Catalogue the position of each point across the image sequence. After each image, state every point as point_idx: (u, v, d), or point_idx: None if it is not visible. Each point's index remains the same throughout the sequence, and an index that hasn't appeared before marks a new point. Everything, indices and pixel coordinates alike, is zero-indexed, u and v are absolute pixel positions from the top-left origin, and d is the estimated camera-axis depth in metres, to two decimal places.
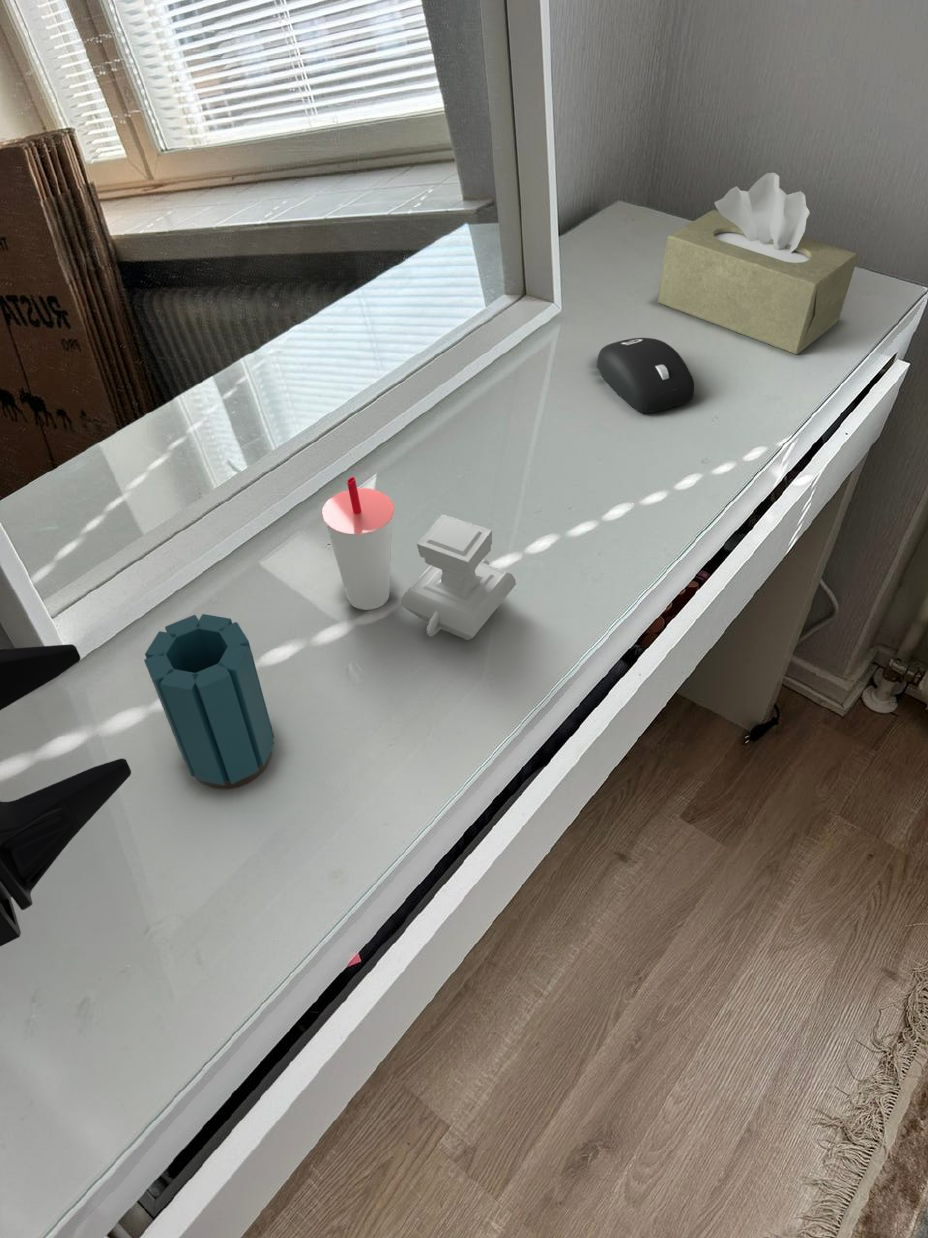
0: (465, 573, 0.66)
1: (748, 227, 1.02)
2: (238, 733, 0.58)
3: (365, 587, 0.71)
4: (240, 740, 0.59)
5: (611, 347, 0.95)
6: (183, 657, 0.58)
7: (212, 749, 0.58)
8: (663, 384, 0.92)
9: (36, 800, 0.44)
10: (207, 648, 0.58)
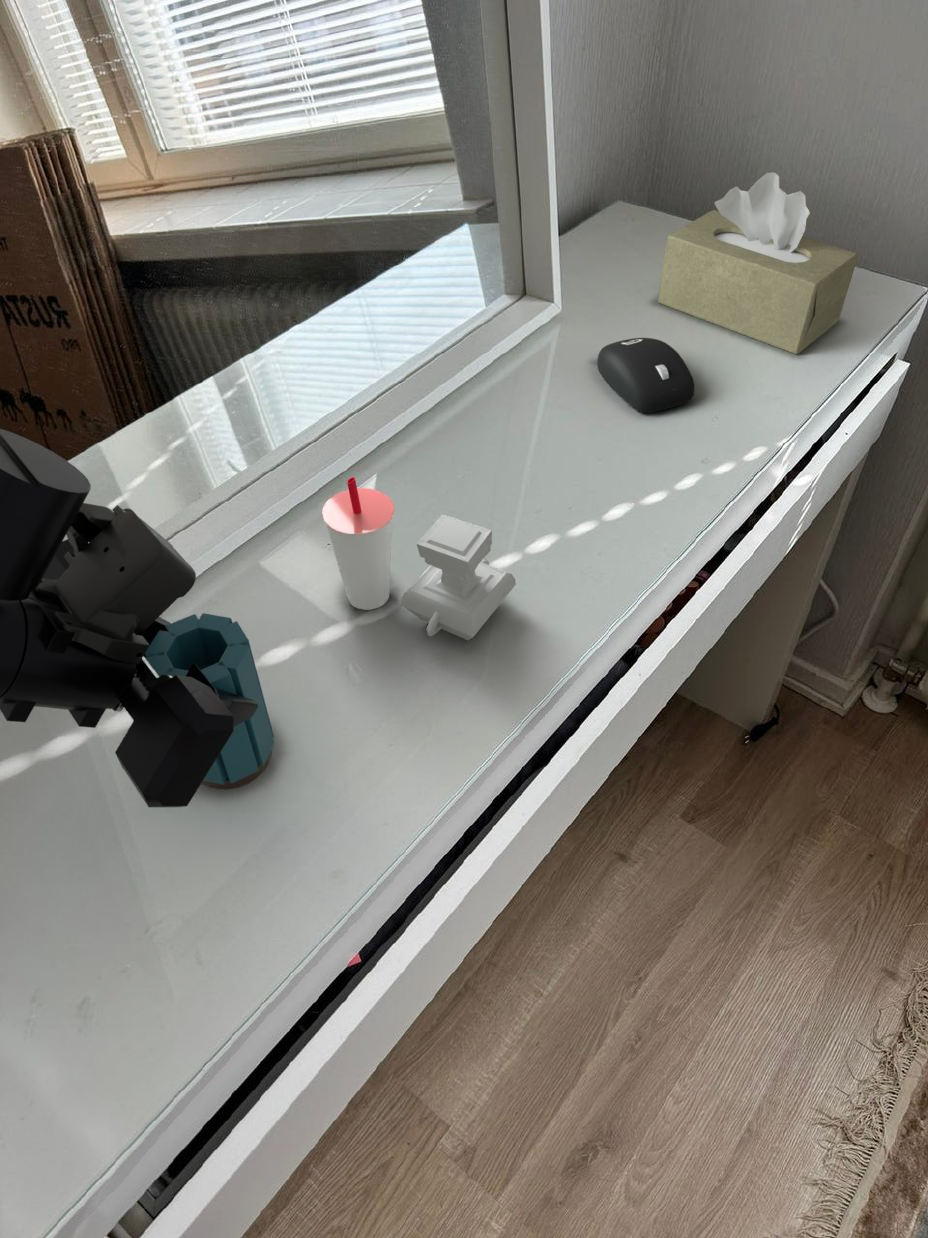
0: (465, 573, 0.66)
1: (748, 227, 1.02)
2: (238, 732, 0.58)
3: (365, 587, 0.71)
4: (240, 739, 0.59)
5: (611, 347, 0.95)
6: (183, 656, 0.58)
7: None
8: (663, 384, 0.92)
9: (217, 693, 0.53)
10: (207, 647, 0.59)
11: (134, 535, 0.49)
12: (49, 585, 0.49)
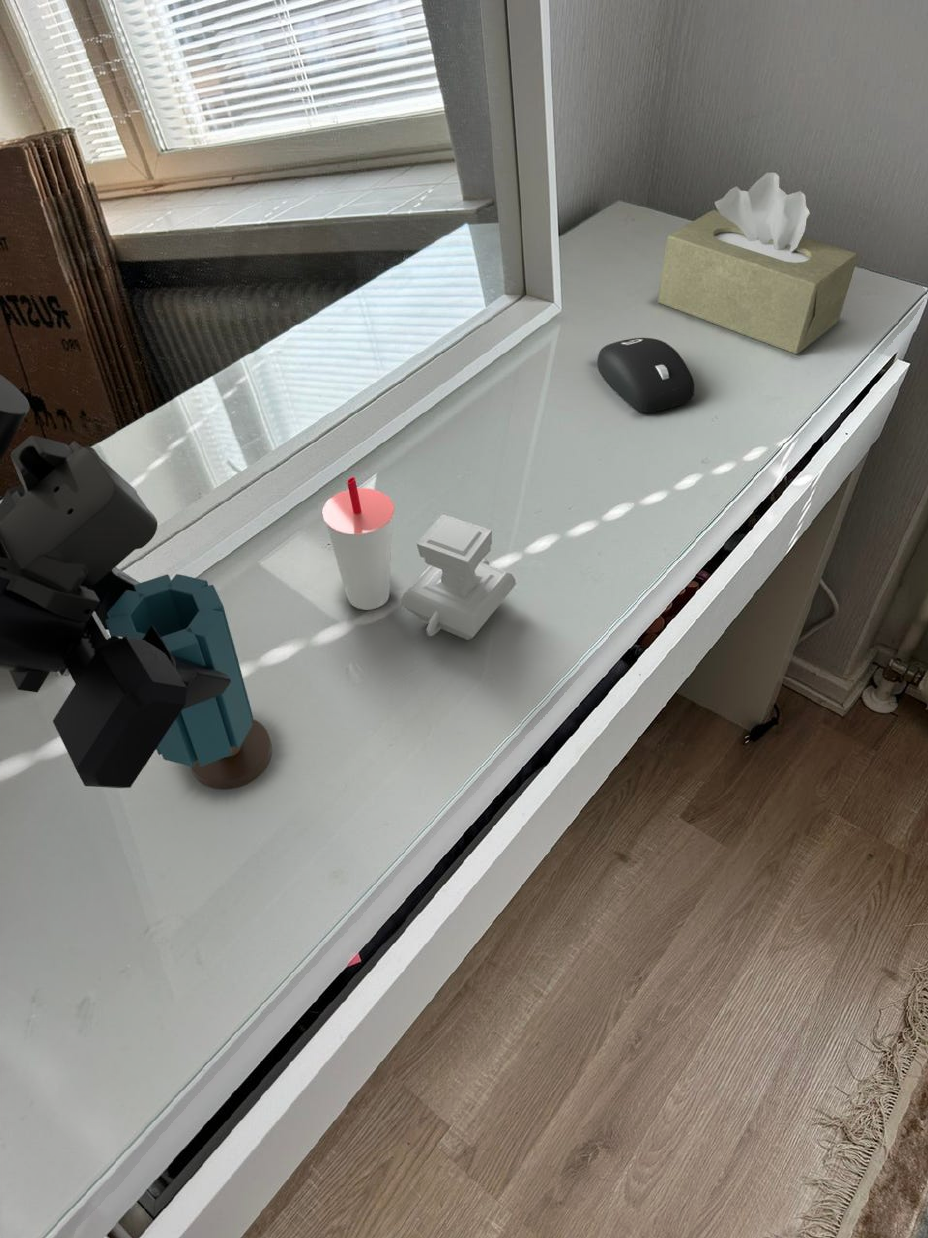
0: (465, 573, 0.66)
1: (748, 227, 1.02)
2: (208, 709, 0.52)
3: (365, 587, 0.71)
4: (210, 717, 0.52)
5: (611, 347, 0.95)
6: (153, 620, 0.52)
7: (178, 725, 0.52)
8: (663, 384, 0.92)
9: (180, 662, 0.47)
10: (180, 612, 0.52)
11: (88, 474, 0.42)
12: None
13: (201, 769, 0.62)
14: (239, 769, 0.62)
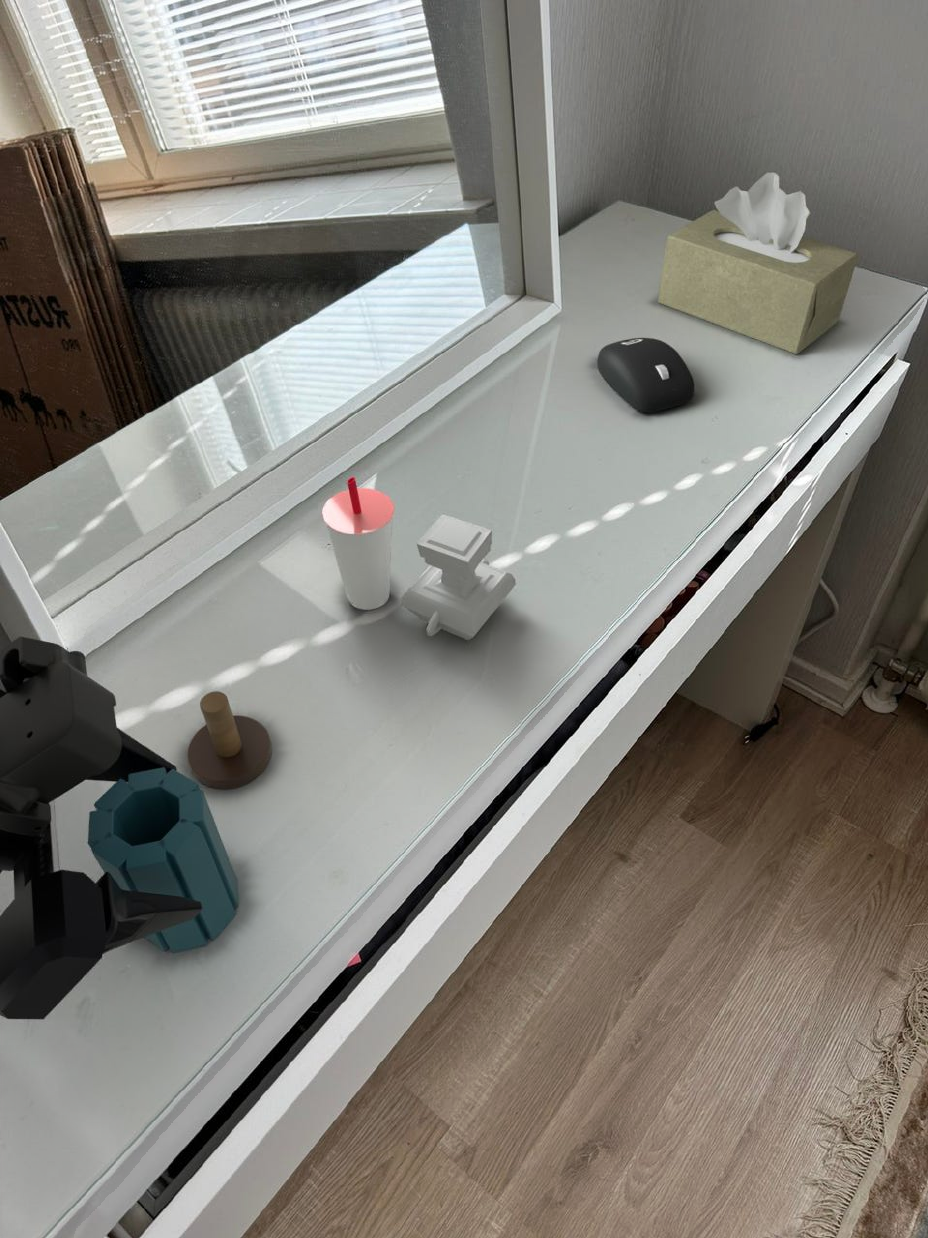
0: (465, 573, 0.66)
1: (748, 227, 1.02)
2: None
3: (365, 587, 0.71)
4: None
5: (611, 347, 0.95)
6: (143, 810, 0.52)
7: None
8: (663, 384, 0.92)
9: (139, 901, 0.45)
10: (170, 806, 0.52)
11: (57, 695, 0.41)
12: None
13: (201, 769, 0.62)
14: (239, 769, 0.62)
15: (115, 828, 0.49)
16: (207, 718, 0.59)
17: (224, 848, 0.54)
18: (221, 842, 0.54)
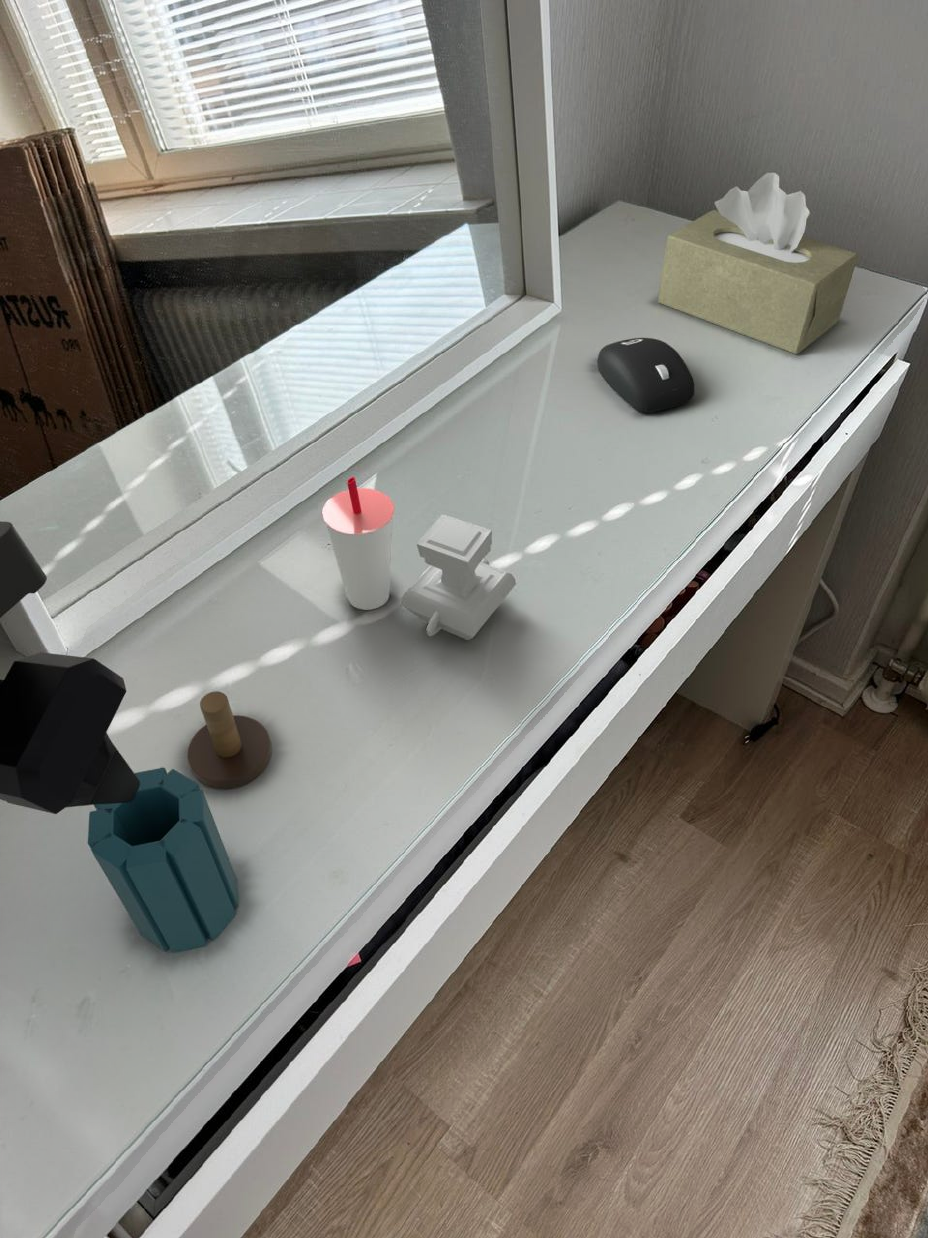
0: (465, 573, 0.66)
1: (748, 227, 1.02)
2: (178, 911, 0.51)
3: (365, 587, 0.71)
4: (181, 917, 0.51)
5: (611, 347, 0.95)
6: (143, 810, 0.52)
7: (148, 920, 0.51)
8: (663, 384, 0.92)
9: None
10: (170, 806, 0.52)
11: None
12: None
13: (201, 769, 0.62)
14: (239, 769, 0.62)
15: (115, 828, 0.49)
16: (207, 718, 0.59)
17: (224, 848, 0.54)
18: (221, 842, 0.54)
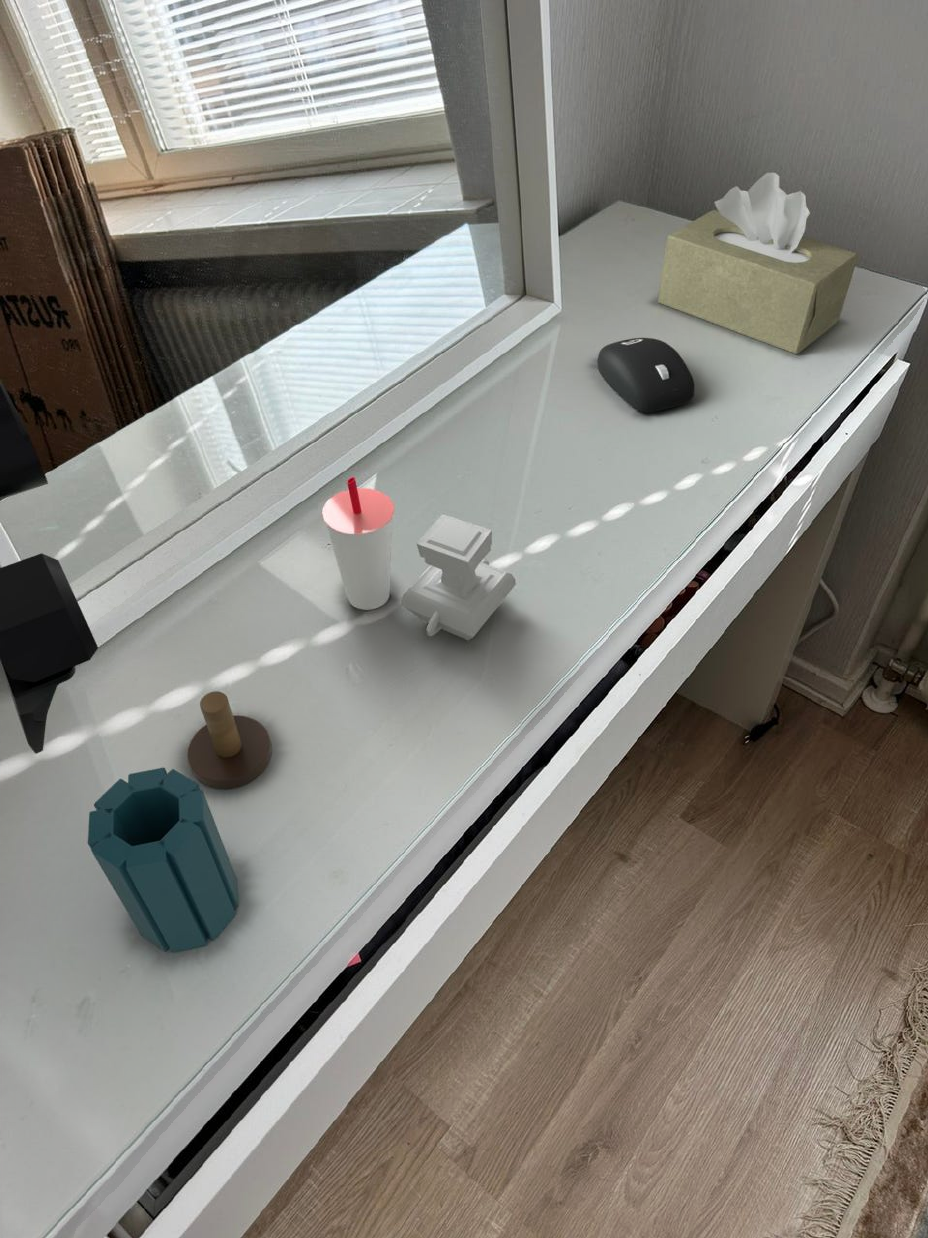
0: (465, 573, 0.66)
1: (748, 227, 1.02)
2: (178, 911, 0.51)
3: (365, 587, 0.71)
4: (181, 917, 0.51)
5: (611, 347, 0.95)
6: (143, 810, 0.52)
7: (148, 920, 0.51)
8: (663, 384, 0.92)
9: None
10: (170, 806, 0.52)
11: None
12: None
13: (201, 769, 0.62)
14: (239, 769, 0.62)
15: (115, 828, 0.49)
16: (207, 718, 0.59)
17: (224, 848, 0.54)
18: (221, 842, 0.54)
